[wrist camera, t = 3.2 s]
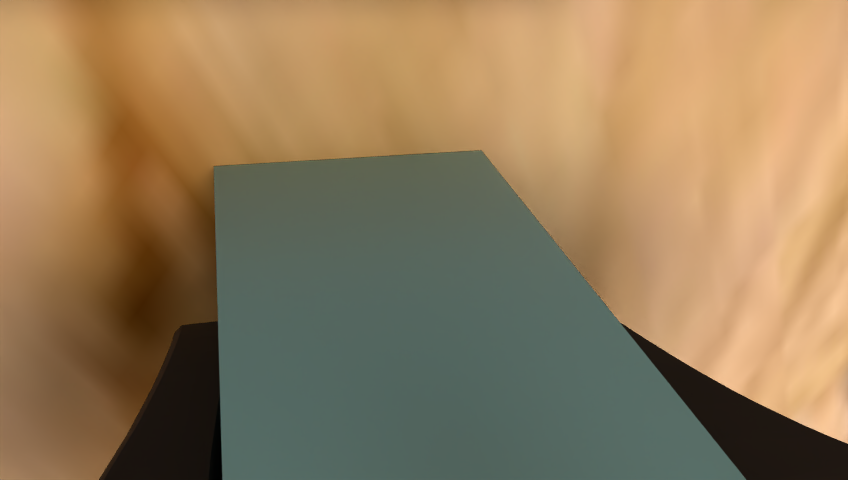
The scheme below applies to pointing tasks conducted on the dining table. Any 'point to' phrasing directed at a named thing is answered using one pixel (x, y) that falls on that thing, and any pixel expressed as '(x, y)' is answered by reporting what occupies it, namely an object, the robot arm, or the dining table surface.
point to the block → (425, 335)
